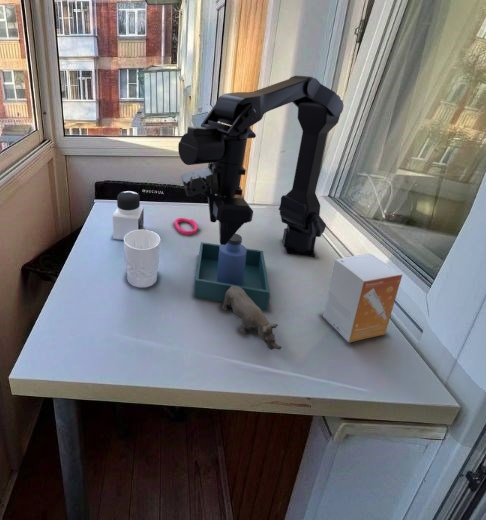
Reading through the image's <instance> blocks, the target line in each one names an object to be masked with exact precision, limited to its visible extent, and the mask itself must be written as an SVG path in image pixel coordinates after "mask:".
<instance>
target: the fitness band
mask: <svg viewBox="0 0 486 520" xmlns="http://www.w3.org/2000/svg"><path fill="white" fill-rule="evenodd" d="M182 222H183V223H188V224H190V225H191V226H192V227H193V228H194V229H191V230H186V229H183V228H182V227H181V226H180V224H179V223H182ZM174 227H175V228H176V230H177V231H178V233H179V234H182V235H186V236H191V235H193V234H195V233H196V232H197V231H199V227H198V223H197V222H196V221H195V220H194V218H190V219H189V218H185V217H177V218H175V220H174Z"/></svg>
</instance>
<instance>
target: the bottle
mask: <svg viewBox="0 0 486 520" xmlns="http://www.w3.org/2000/svg"><path fill="white" fill-rule="evenodd" d="M242 242H243V237H242V235H240V234H238V233H237V232H236V233H235V234H234V235H233V236H232V238H231V239H230V240H229V241H228V243H227V244H226V245H221V244H220V243H219V245H220V247H219V258H218V270H217V280H218V282H221V283H227V284H233V285H239V286H242V285H243V280H244V271H245V262H246V253H247V250H246V248H247V247H246V246H245V245H243V244H242Z"/></svg>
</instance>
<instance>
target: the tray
mask: <svg viewBox="0 0 486 520" xmlns="http://www.w3.org/2000/svg"><path fill="white" fill-rule="evenodd" d="M219 247H220V244H217V243H212V242H211V243H210V242H204V241H200V245H199V251H198V259H197V266H196V273H195V279H194V280H195V281H194V294H193V295H194V298H195V297H196V298H201V299H206V300H211V301H217V302H223V303H224V299H225V294H226V292H227V290H228V289H229V288H230V287H231V286H237V287H240V288H242V289H243V290H244V291H245V292H246V294H247V295H248V296H249V297H250V298H251V299H252V301H253V302H254V303H255V304H256V305H257V306H258V307H259V308H260V309H261V310H267V311H268V309H269V303H270V296H271V291H270V285H269V278H268V273H267V267H266V260H265V254H264V251H263V250H260V249H253V248H247V247H245V248H246V250H247V253H246V262H245V271H244V280H243V285H242V286H239V285H233V284H227V283H221V282H218V280H217V270H218V258H219Z"/></svg>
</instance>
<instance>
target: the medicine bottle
mask: <svg viewBox="0 0 486 520" xmlns="http://www.w3.org/2000/svg"><path fill="white" fill-rule="evenodd" d="M140 198H141V197H140V194H139V193H137V192H136V191H131V190H127V191H121V192H119V193H118V194H117V196H116V209H115V210H114V212H113V214H112V238H113V239H114V240H122V241H124V237H125V235H126V234H128V233H129V232H131V231H134V230H144V224H145V223H144V222H145V221H144V220H145V219H144V215H145V214H144V213H145V212H144V211H145V210H144V206H143V205H141V203H140V202H141V200H140Z"/></svg>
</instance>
